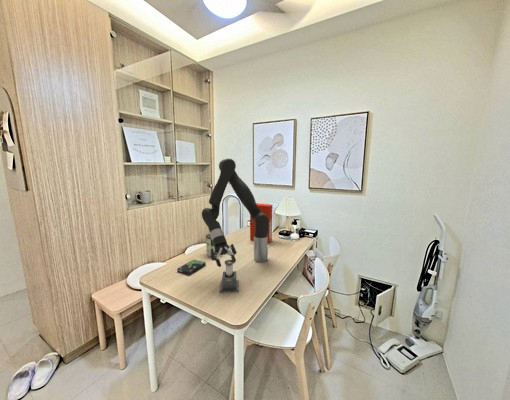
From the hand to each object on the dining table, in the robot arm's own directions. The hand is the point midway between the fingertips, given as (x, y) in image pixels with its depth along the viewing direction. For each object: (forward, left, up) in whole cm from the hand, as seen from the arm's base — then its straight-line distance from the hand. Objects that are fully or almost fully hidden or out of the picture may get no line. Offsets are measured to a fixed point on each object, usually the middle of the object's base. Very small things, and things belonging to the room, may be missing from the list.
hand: (227, 264), depth 114 cm
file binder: (-25, -67, -12) cm, 73 cm away
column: (-1, +2, -11) cm, 11 cm away
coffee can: (+13, -42, -12) cm, 46 cm away
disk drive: (+24, -20, -13) cm, 34 cm away
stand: (-1, +2, -12) cm, 12 cm away
